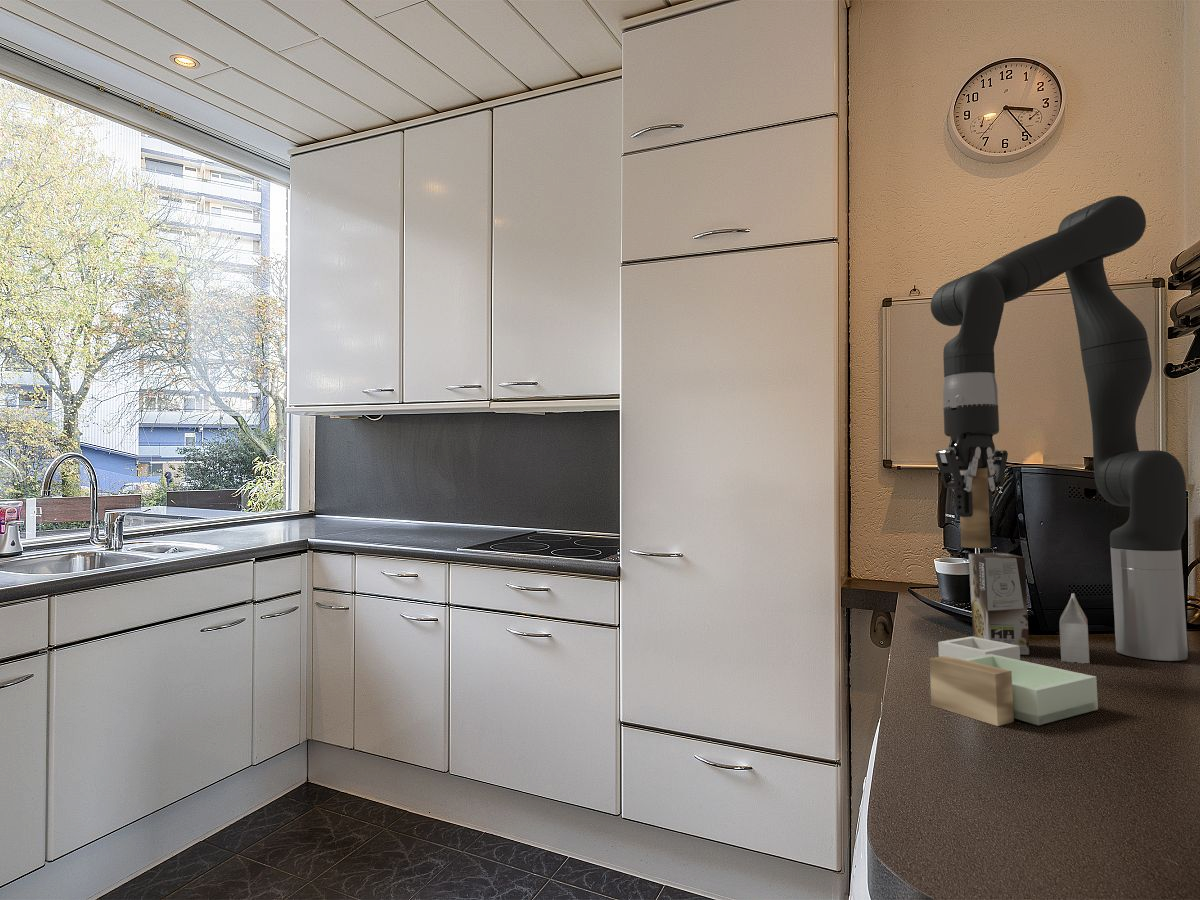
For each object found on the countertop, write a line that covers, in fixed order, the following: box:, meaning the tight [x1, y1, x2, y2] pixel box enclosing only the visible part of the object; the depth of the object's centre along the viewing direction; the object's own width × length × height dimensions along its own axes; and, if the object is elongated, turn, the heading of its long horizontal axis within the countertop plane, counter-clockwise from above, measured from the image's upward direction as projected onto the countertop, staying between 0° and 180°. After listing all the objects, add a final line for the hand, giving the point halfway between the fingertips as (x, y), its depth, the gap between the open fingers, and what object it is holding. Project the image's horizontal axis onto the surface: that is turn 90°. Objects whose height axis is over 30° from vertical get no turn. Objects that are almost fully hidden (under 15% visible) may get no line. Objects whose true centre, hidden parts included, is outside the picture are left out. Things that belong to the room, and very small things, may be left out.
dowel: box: [959, 468, 992, 549], centre depth 108 cm, size 4×4×12 cm
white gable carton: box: [1059, 593, 1090, 664], centre depth 114 cm, size 4×7×10 cm, turn 146°
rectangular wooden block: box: [928, 656, 1015, 727], centre depth 88 cm, size 3×9×6 cm, turn 26°
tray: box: [962, 654, 1099, 726], centre depth 91 cm, size 12×14×4 cm
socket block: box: [937, 635, 1021, 660], centre depth 110 cm, size 8×8×4 cm
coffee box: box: [968, 552, 1030, 656], centre depth 122 cm, size 9×6×16 cm
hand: (974, 515), depth 108 cm, fingers closed on dowel, 4 cm apart
